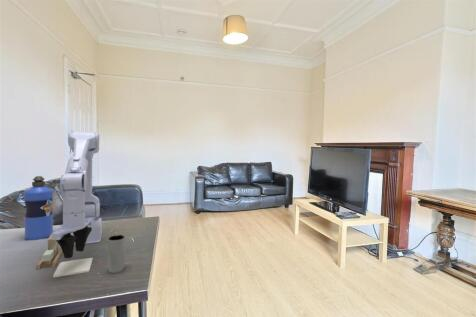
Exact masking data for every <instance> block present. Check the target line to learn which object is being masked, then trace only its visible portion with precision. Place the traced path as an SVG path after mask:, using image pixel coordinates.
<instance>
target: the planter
mask: <svg viewBox="0 0 476 317" xmlns="http://www.w3.org/2000/svg"><path fill="white" fill-rule="evenodd" d="M125 239H126V238H125V235H122V234H115V235H111V236H109V237H108V238H107V248H108V249H107V250H108V251H107V255H108V256H107V261H108V262H107V270H108V271H107V272H108V273H110V274H118V273H120V272H122V271H124V269H125Z"/></svg>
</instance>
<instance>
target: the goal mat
mask: <svg viewBox="0 0 476 317" xmlns="http://www.w3.org/2000/svg"><path fill="white" fill-rule="evenodd" d="M93 259H94V258H93V257H88V258H81V259H80V258H79V259H73V260H66V261H60V263H59V264H58V265H57V268H56V270H55V272H54V273H53V276H52V278H60V277H67V276H73V275H79V274H85V273H89V272H90V271H91V270H90V269H91V266H92V262H93Z"/></svg>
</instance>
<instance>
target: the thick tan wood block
mask: <svg viewBox="0 0 476 317" xmlns="http://www.w3.org/2000/svg"><path fill="white" fill-rule="evenodd" d="M53 249H54V259H55V257H56V255H57V254H58V252H59V244H58V242H57V241H56V240H52V234H51V235H50V237H48V239H47V250H53Z"/></svg>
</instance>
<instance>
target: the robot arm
mask: <svg viewBox="0 0 476 317" xmlns="http://www.w3.org/2000/svg"><path fill="white" fill-rule="evenodd" d="M67 143H68V146H69V148H70V151H72V153H73V154H72V156H71V157H69V159H68V161H67V164H66V168H65V172H64V174H61V176H60V179H59V180H60V181H59V188H60V192H61V193H60V194H61V198H62V224H61V225H60V228H58V229H57V230H56V231H53V233H52V240H56V241H57V242H58V246H59V247H60V249H62V251H63V253H62V255H63V257H64V259H71V258H73V256H74V247H75V252H83V251H85V247H86V245H87V244H95V243H101V240H102V236H103V231H102V228H103V227H102V219H103V218H102V217H100V212H101V204H100V198H99V197H98V196H96V195H94V194H93V158H94V155H95V154H98V153H99V150H100V133H99V132H98V131H77V130H70V131H68V134H67ZM72 234H73V235H72Z"/></svg>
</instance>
